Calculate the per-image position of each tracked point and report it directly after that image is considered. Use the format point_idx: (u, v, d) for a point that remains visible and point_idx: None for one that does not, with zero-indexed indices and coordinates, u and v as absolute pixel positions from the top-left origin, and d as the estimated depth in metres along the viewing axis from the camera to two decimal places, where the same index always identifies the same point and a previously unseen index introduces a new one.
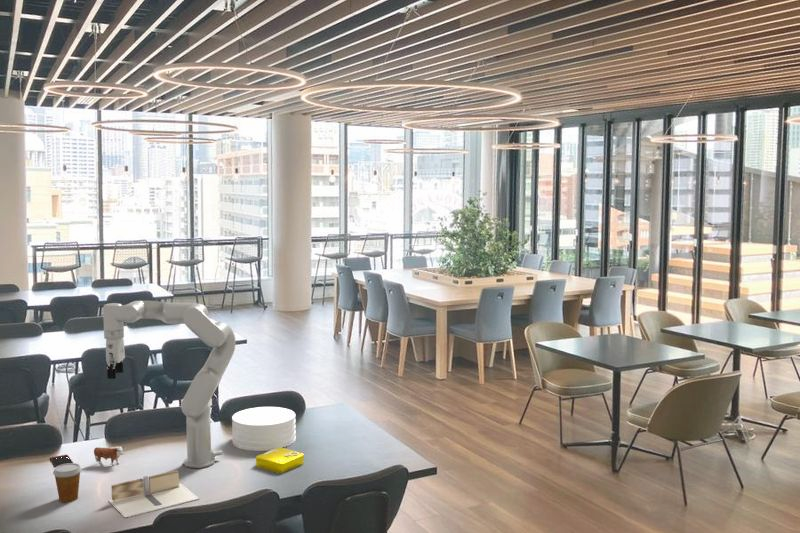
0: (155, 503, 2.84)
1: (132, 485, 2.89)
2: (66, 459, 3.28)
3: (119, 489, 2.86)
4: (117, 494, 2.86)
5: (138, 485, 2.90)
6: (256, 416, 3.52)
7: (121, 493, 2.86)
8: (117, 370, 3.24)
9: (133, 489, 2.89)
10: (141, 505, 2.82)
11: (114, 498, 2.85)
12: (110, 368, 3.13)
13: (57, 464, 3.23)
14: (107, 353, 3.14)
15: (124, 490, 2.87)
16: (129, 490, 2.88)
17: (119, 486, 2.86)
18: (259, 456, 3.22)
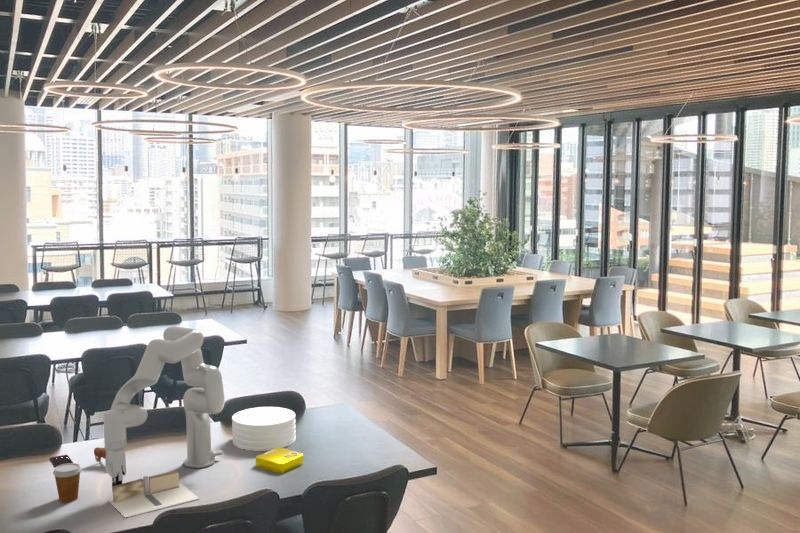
0: (155, 503, 2.84)
1: (133, 485, 2.88)
2: (66, 459, 3.28)
3: (120, 490, 2.85)
4: (118, 495, 2.85)
5: (138, 485, 2.90)
6: (256, 416, 3.52)
7: (122, 494, 2.86)
8: None
9: (134, 489, 2.89)
10: (141, 505, 2.82)
11: (115, 499, 2.84)
12: None
13: (57, 464, 3.23)
14: None
15: (125, 490, 2.86)
16: (130, 490, 2.88)
17: (120, 487, 2.85)
18: (259, 456, 3.22)
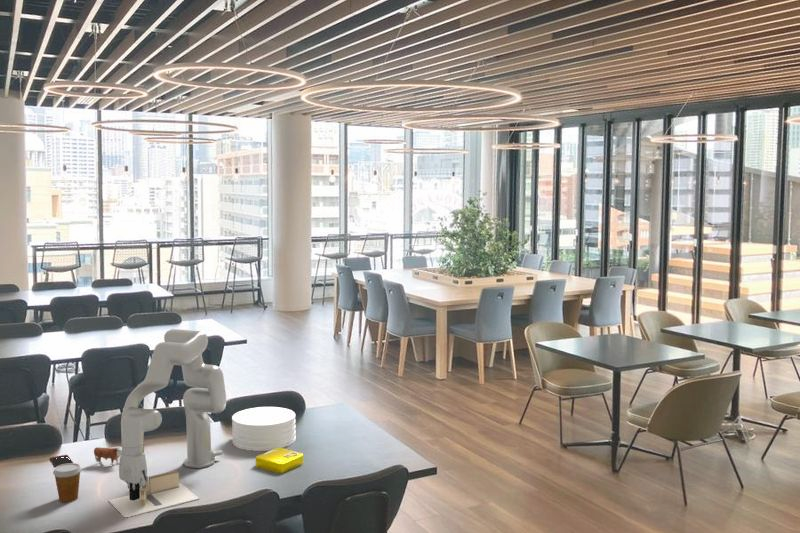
0: (155, 503, 2.84)
1: (146, 486, 2.87)
2: (66, 459, 3.28)
3: (145, 492, 2.83)
4: None
5: None
6: (256, 416, 3.52)
7: (145, 496, 2.84)
8: None
9: (146, 490, 2.88)
10: None
11: (144, 502, 2.81)
12: None
13: (57, 464, 3.23)
14: None
15: (145, 492, 2.85)
16: (146, 492, 2.86)
17: (145, 489, 2.83)
18: (259, 456, 3.22)
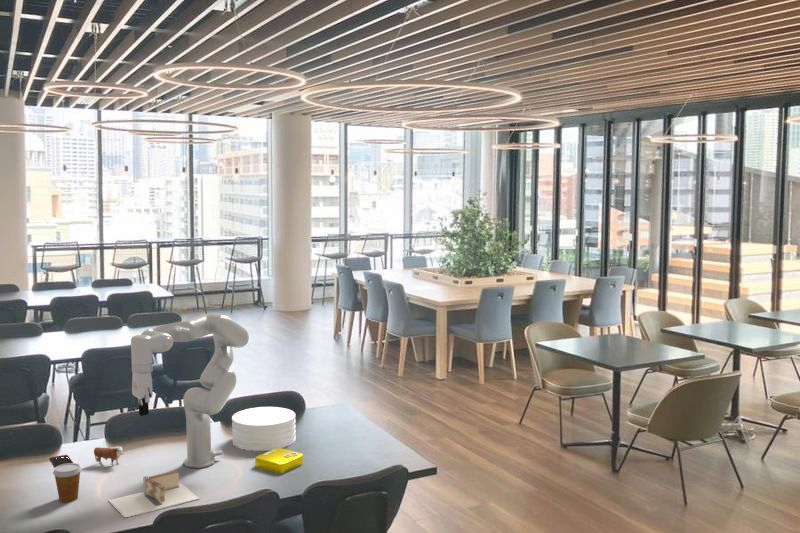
0: (155, 503, 2.84)
1: None
2: (66, 459, 3.28)
3: None
4: None
5: None
6: (256, 416, 3.52)
7: None
8: None
9: None
10: (141, 505, 2.82)
11: None
12: None
13: (57, 464, 3.23)
14: None
15: None
16: None
17: None
18: (258, 457, 3.21)
